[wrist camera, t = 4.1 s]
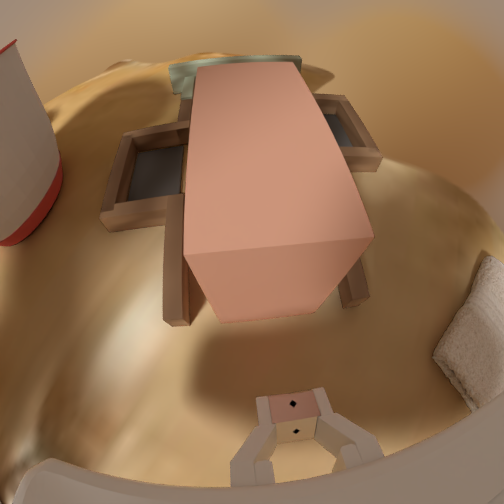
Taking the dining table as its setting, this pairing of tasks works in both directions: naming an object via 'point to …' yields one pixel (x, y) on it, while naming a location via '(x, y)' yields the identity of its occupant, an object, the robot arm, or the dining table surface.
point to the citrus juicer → (24, 152)
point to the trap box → (170, 169)
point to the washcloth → (477, 339)
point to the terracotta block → (267, 195)
